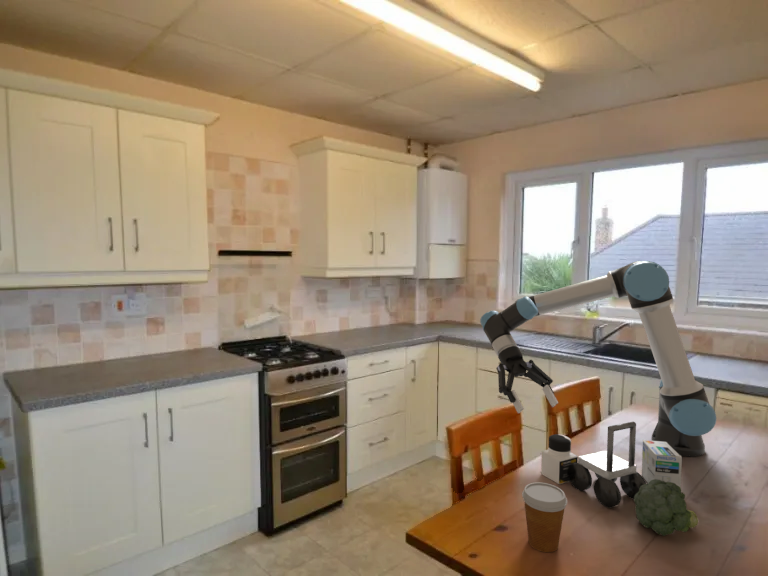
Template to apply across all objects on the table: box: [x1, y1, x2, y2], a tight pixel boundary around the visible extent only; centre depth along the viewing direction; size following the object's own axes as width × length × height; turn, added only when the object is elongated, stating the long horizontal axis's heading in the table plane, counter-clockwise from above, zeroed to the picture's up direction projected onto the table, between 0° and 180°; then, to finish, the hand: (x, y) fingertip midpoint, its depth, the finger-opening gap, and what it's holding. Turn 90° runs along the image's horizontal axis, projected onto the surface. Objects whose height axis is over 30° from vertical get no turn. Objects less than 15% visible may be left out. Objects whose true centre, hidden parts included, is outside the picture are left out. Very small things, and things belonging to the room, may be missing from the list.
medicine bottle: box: [540, 433, 579, 485], centre depth 133 cm, size 7×7×12 cm
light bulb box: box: [641, 439, 683, 489], centre depth 128 cm, size 11×7×11 cm, turn 168°
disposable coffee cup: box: [521, 481, 568, 553], centre depth 102 cm, size 10×10×12 cm
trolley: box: [568, 421, 647, 509], centre depth 123 cm, size 11×16×21 cm
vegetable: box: [633, 479, 699, 537], centre depth 108 cm, size 12×13×15 cm
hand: (538, 408), depth 143 cm, fingers open, 13 cm apart
